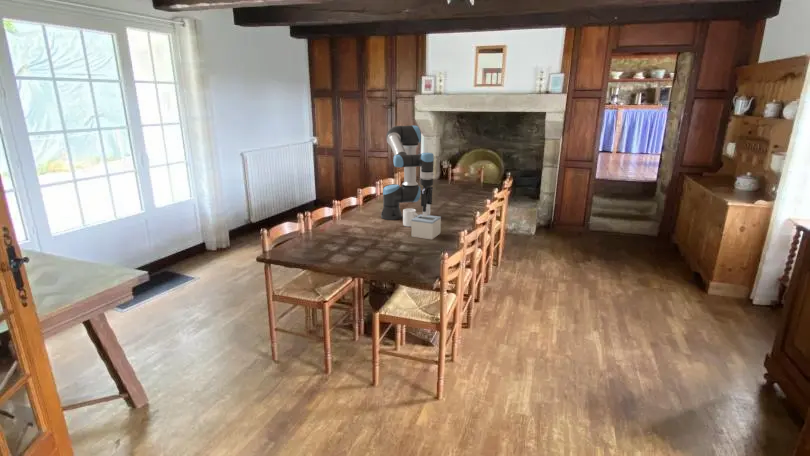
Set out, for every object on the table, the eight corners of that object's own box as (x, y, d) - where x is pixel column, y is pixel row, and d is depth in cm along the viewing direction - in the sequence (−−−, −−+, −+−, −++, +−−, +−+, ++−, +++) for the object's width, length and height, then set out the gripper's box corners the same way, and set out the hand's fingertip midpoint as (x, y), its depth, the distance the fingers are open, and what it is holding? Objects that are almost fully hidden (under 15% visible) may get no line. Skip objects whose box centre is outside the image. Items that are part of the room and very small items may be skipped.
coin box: (411, 236, 269) (411, 219, 266) (420, 230, 281) (420, 214, 278) (432, 239, 264) (432, 222, 260) (440, 233, 276) (440, 216, 273)
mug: (416, 228, 286) (416, 212, 283) (400, 225, 292) (400, 210, 289) (422, 225, 293) (422, 209, 290) (406, 222, 299) (406, 207, 296)
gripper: (427, 181, 253) (426, 219, 260) (438, 176, 268) (437, 212, 275) (415, 180, 256) (415, 218, 263) (426, 175, 271) (426, 211, 278)
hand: (426, 215), depth 269 cm, fingers open, 5 cm apart
